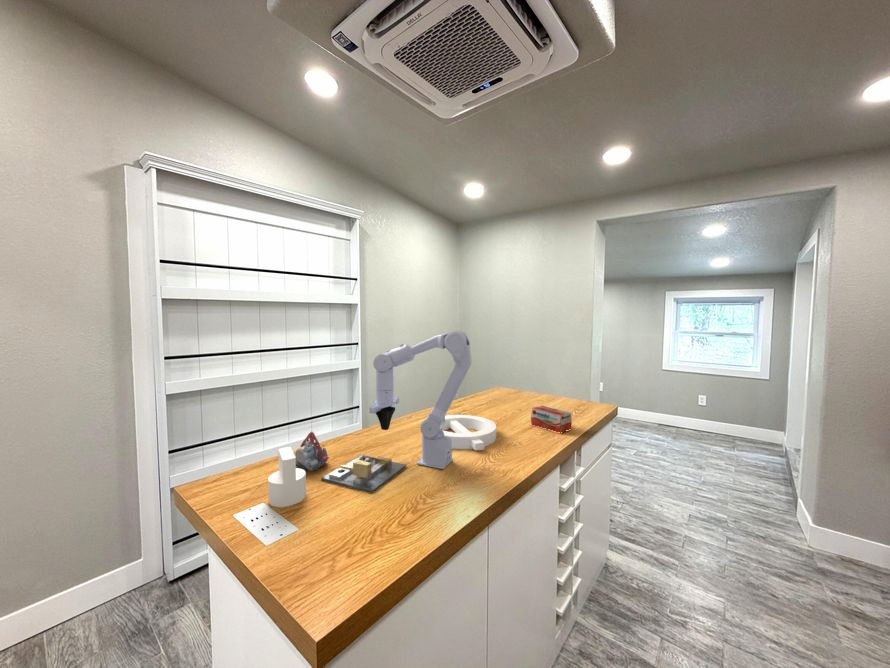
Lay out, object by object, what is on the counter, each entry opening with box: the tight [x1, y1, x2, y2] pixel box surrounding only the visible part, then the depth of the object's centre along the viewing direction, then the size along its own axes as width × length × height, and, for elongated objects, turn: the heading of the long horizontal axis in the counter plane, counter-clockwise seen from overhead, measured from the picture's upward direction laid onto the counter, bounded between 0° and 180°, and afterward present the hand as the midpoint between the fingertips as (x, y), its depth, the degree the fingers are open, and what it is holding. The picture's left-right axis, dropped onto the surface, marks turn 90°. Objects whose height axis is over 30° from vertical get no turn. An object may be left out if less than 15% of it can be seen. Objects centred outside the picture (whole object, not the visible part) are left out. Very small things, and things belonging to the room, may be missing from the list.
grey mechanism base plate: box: [321, 454, 407, 494], centre depth 105 cm, size 18×18×3 cm
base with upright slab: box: [267, 446, 307, 508], centre depth 91 cm, size 9×9×12 cm
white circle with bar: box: [442, 414, 497, 451], centre depth 139 cm, size 28×28×5 cm
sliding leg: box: [339, 460, 372, 478], centre depth 100 cm, size 10×2×4 cm, turn 66°
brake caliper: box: [294, 431, 330, 472], centre depth 110 cm, size 11×11×12 cm
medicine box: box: [530, 405, 572, 433], centre depth 149 cm, size 15×8×8 cm, turn 39°
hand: (385, 429), depth 116 cm, fingers closed
